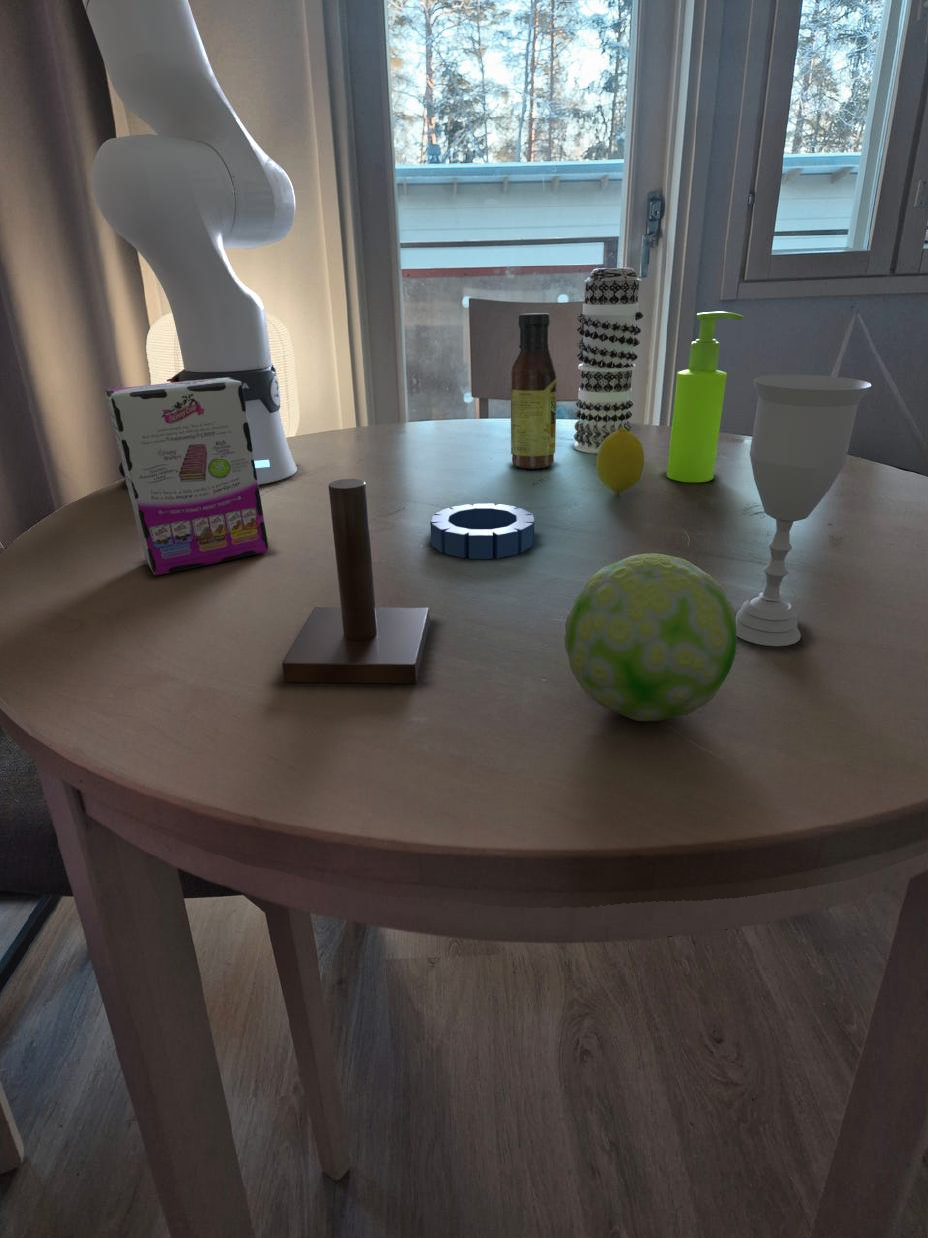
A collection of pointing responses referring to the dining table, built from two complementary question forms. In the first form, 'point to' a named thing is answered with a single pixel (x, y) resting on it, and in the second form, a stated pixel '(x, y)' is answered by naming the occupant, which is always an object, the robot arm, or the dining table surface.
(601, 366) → the decorative candle
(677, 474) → the soap dispenser
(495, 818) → the dining table surface
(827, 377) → the chalice
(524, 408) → the sauce bottle
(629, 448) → the lemon
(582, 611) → the decorative ball
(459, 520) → the bracelet
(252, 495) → the candy bar box
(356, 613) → the stand
